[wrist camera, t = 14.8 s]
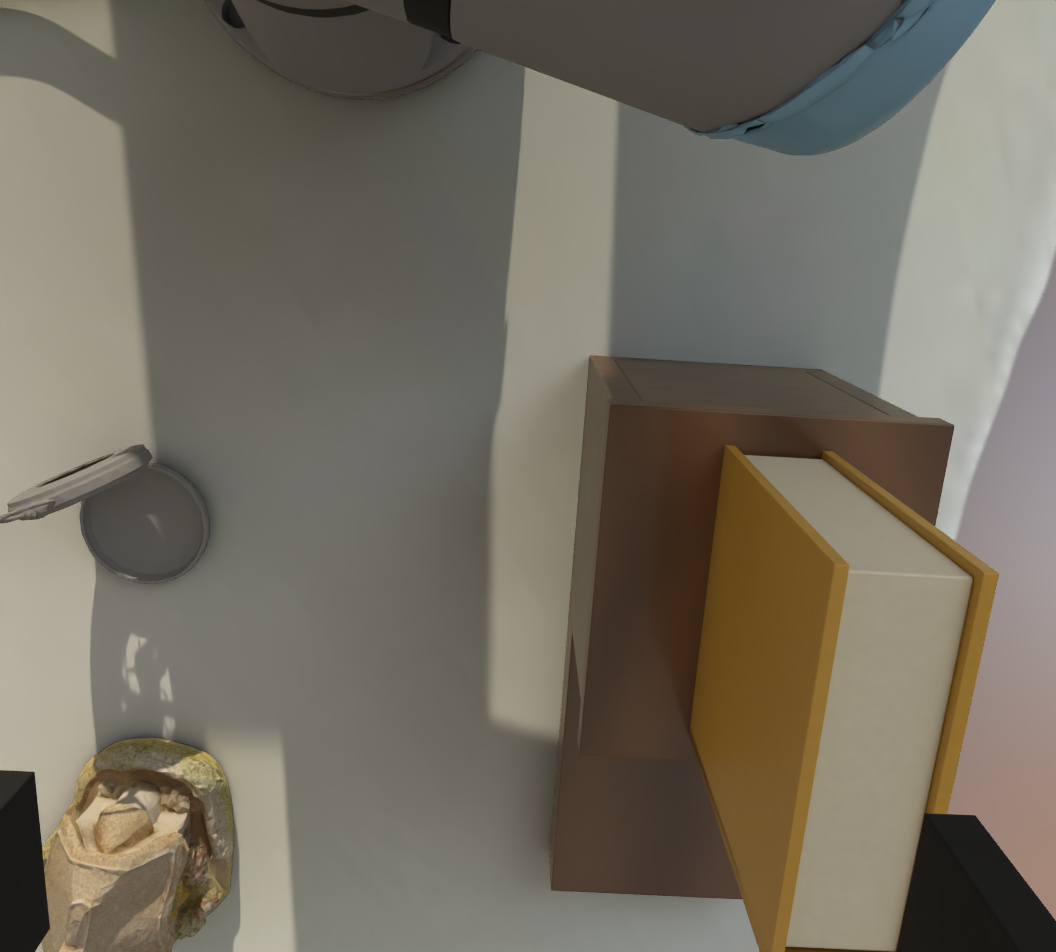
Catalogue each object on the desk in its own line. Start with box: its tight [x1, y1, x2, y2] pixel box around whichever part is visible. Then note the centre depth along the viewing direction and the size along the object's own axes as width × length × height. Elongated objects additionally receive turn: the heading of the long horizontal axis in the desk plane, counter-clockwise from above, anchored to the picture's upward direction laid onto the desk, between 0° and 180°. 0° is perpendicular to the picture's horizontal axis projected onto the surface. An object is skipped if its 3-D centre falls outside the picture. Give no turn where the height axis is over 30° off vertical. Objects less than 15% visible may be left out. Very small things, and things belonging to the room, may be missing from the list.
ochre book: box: [689, 445, 999, 952], centre depth 29 cm, size 4×12×12 cm, turn 176°
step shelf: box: [549, 356, 954, 899], centre depth 44 cm, size 13×30×14 cm, turn 176°
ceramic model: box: [41, 738, 234, 952], centre depth 49 cm, size 14×11×10 cm
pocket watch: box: [0, 445, 210, 584], centre depth 43 cm, size 8×8×10 cm
